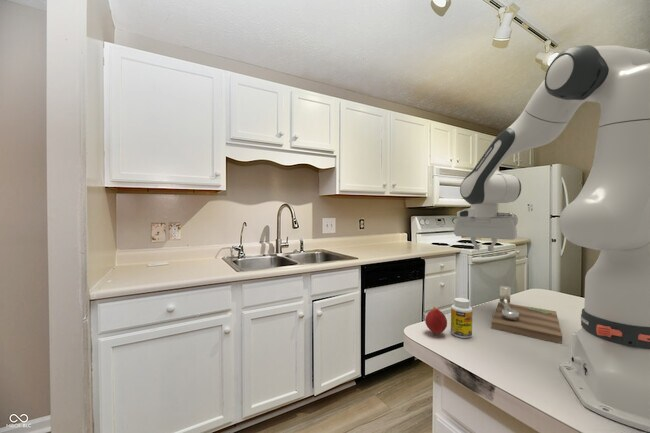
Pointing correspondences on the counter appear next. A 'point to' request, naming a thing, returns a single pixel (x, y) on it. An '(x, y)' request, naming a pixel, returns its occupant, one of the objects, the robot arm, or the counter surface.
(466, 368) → the counter surface
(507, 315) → the silver measuring spoon
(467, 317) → the supplement bottle
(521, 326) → the board
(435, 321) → the onion
